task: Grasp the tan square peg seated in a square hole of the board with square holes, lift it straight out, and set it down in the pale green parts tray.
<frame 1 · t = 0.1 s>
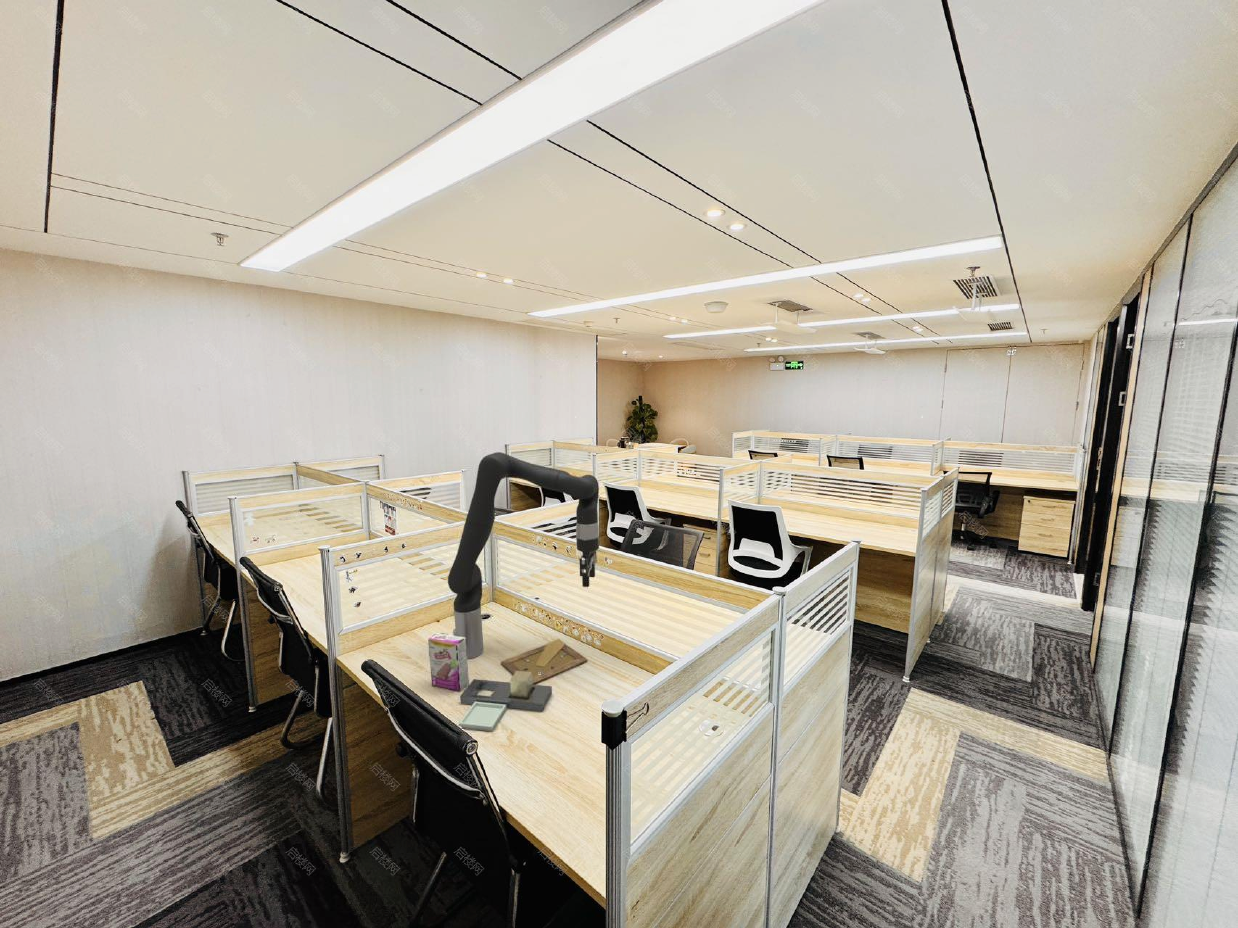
hand: (588, 581, 171), 29 cm above the table, fingers open, 8 cm apart
candy bar box: (450, 685, 163), on the table
tan square peg: (522, 700, 155), resting in board with square holes
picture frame: (544, 665, 175), on the table
board with square holes: (506, 698, 156), on the table
tray: (483, 718, 146), on the table
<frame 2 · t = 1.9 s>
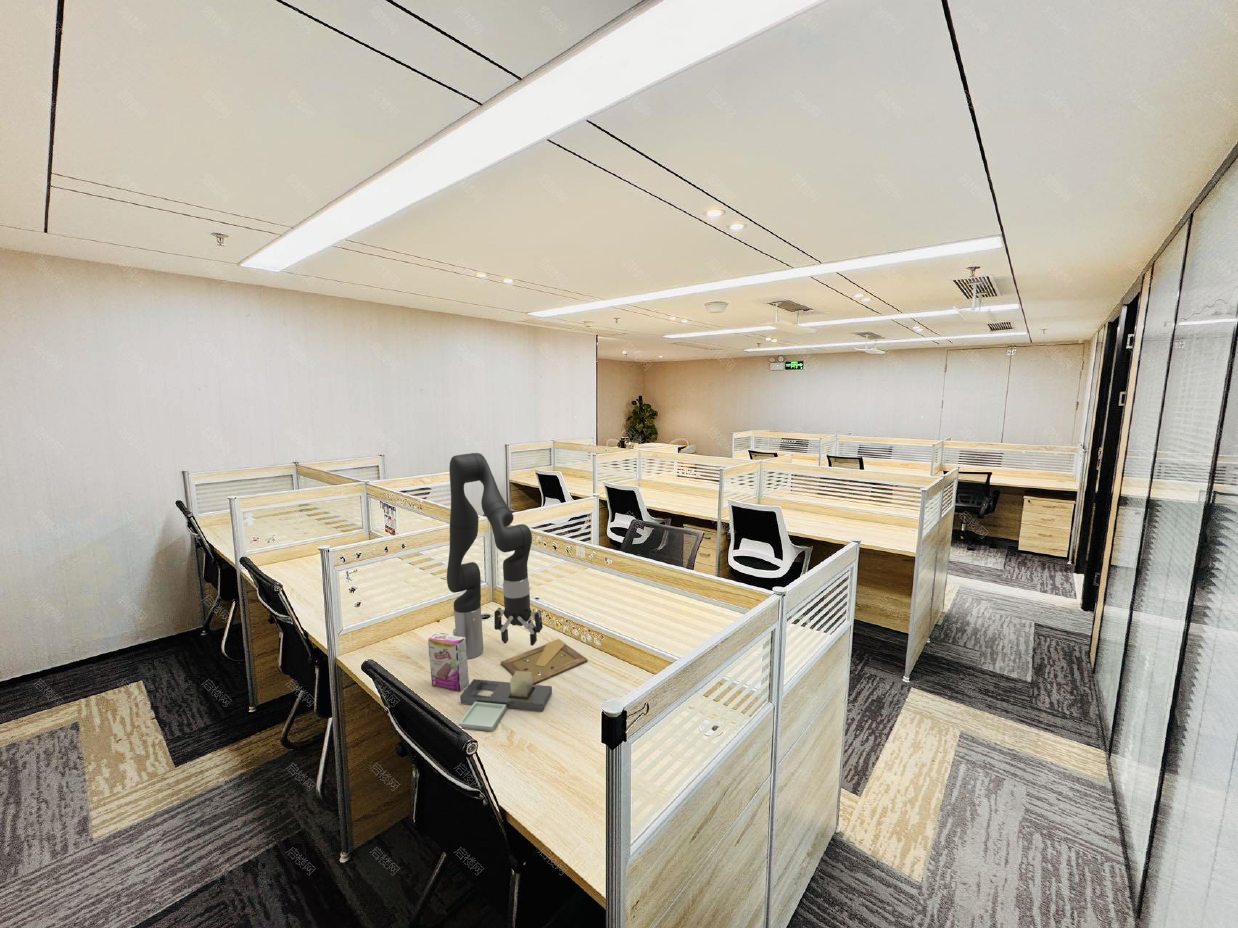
hand: (519, 643, 152), 19 cm above the table, fingers open, 8 cm apart
nothing on the table moved.
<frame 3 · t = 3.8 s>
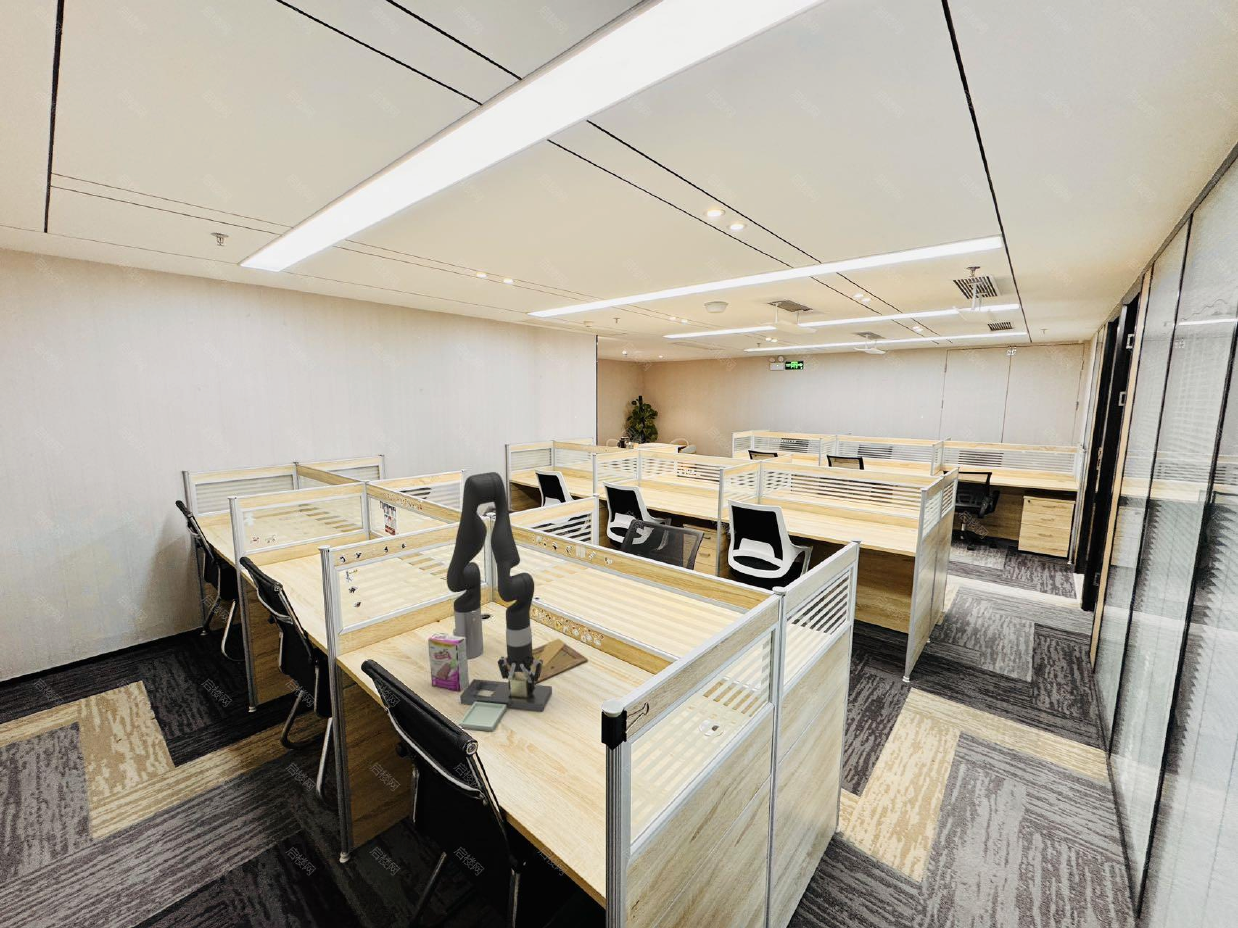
hand: (521, 691, 154), 3 cm above the table, fingers closed on tan square peg, 5 cm apart
tan square peg: (522, 700, 155), resting in board with square holes, touching gripper
everything else where it was.
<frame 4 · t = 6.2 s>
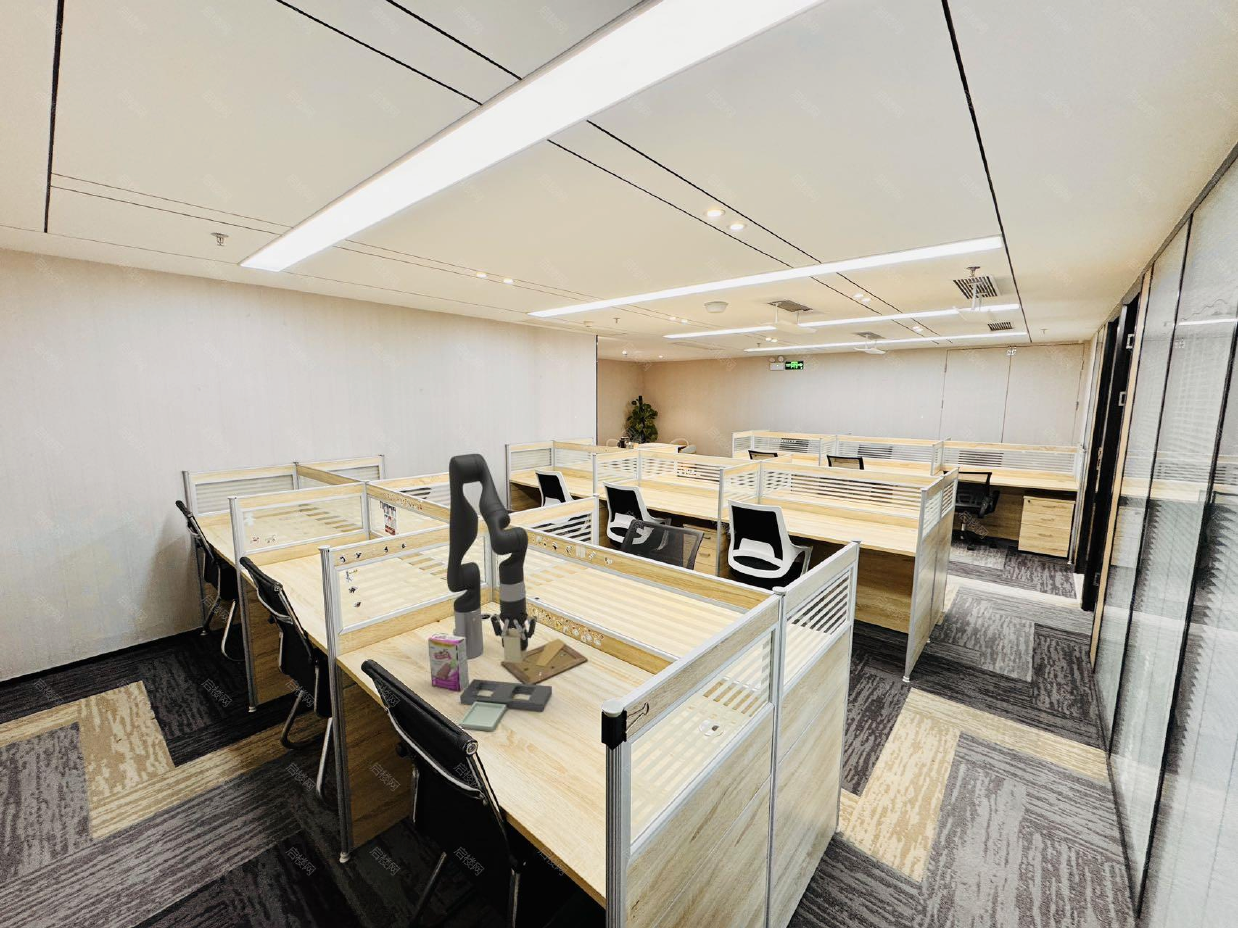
hand: (515, 648, 151), 17 cm above the table, fingers closed on tan square peg, 5 cm apart
tan square peg: (515, 657, 152), point 14 cm above the table, touching gripper
everything else where it was.
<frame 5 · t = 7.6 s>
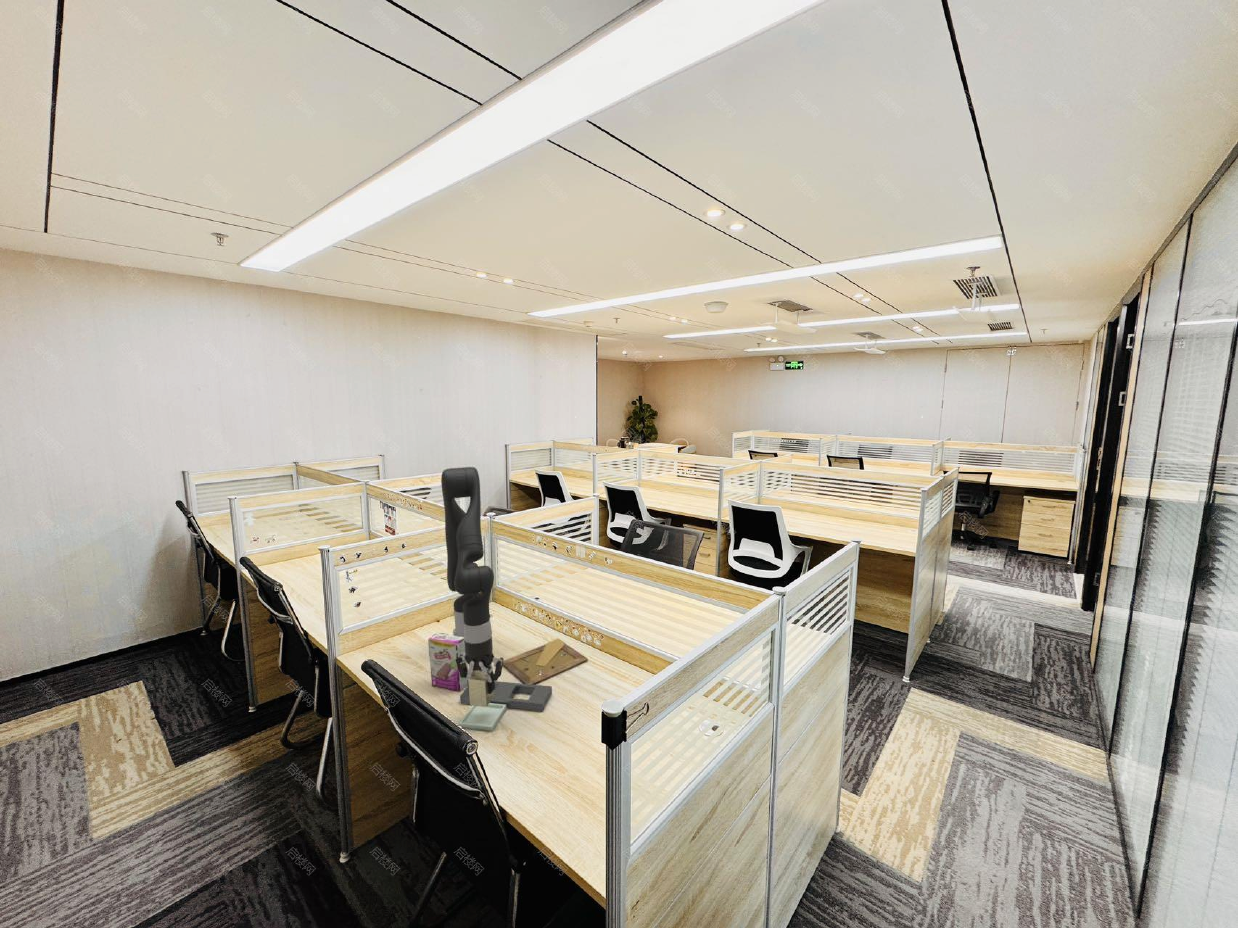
hand: (481, 691, 145), 9 cm above the table, fingers closed on tan square peg, 5 cm apart
tan square peg: (482, 700, 145), point 6 cm above the table, touching gripper
everything else where it was.
when the fingers open (5 cm above the table, at t = 8.7 s): tan square peg drops 1 cm, resting on tray.
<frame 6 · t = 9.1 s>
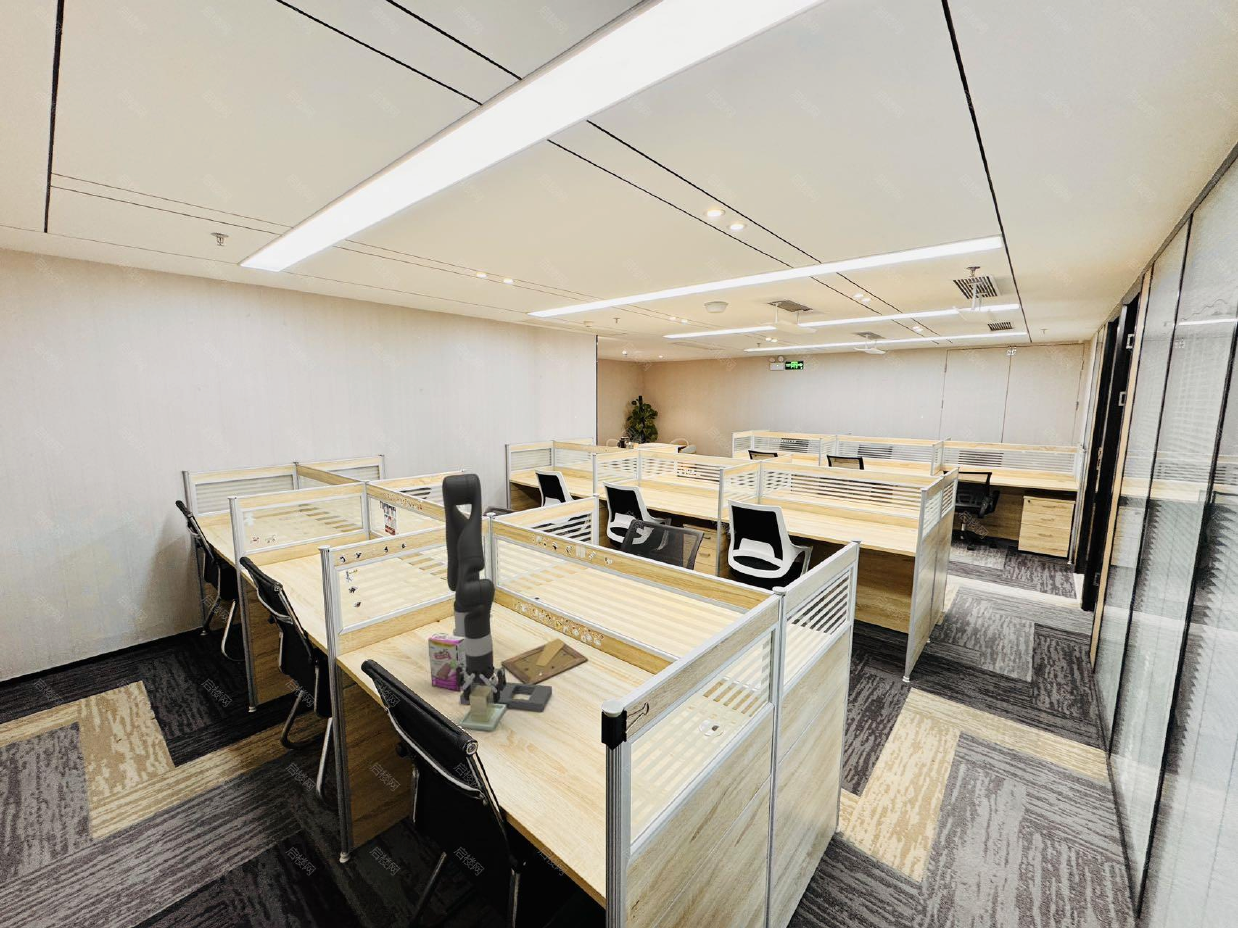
hand: (482, 700, 145), 6 cm above the table, fingers open, 8 cm apart
tan square peg: (483, 716, 146), point 1 cm above the table, touching tray
everything else where it was.
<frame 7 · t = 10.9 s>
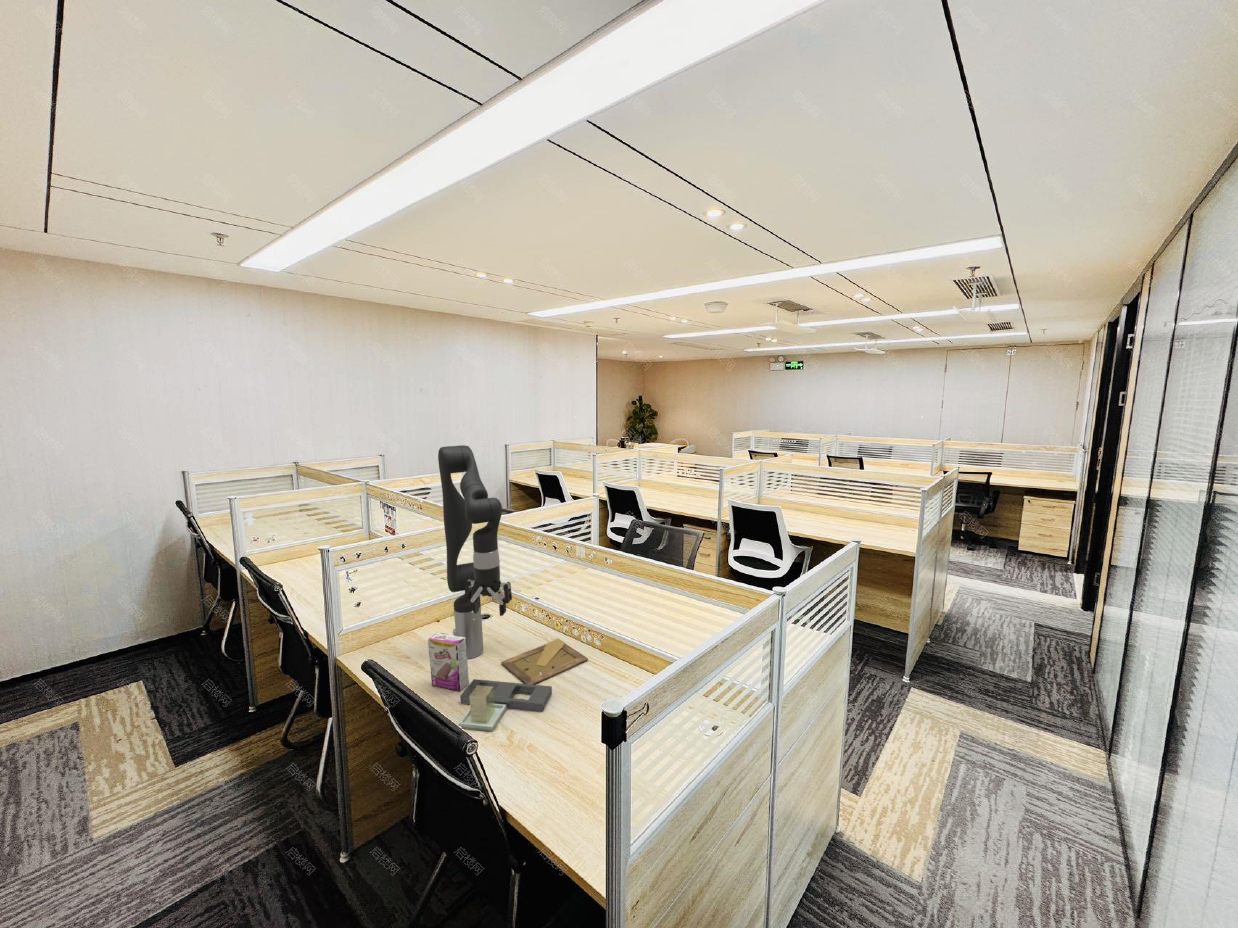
hand: (489, 613, 155), 26 cm above the table, fingers open, 8 cm apart
nothing on the table moved.
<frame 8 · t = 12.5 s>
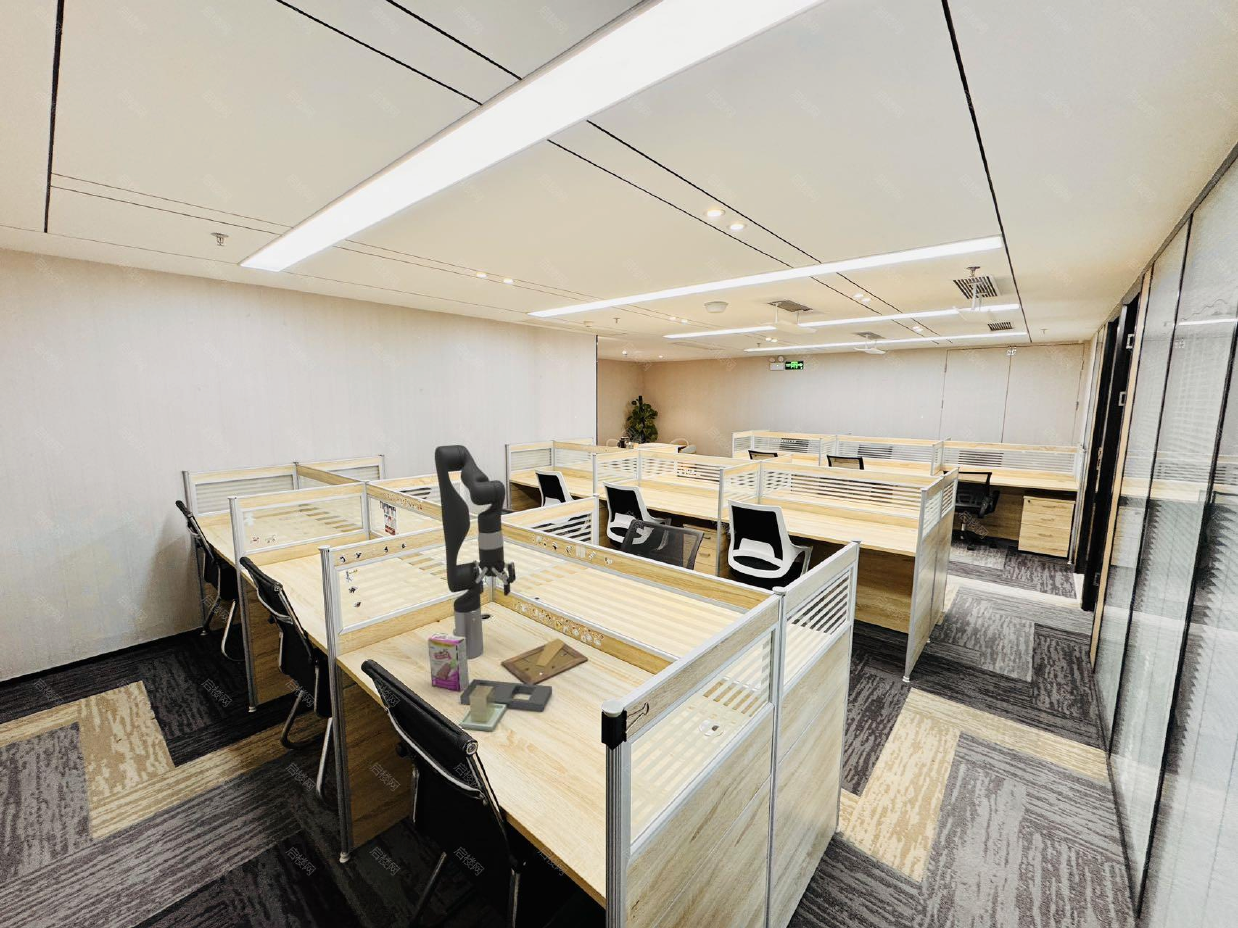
hand: (493, 594, 160), 30 cm above the table, fingers open, 8 cm apart
nothing on the table moved.
at the end: tan square peg inside the target area on the tray (0.1 cm from its centre), point 0.6 cm above the tray's base; tan square peg touching tray; the gripper is holding nothing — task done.
